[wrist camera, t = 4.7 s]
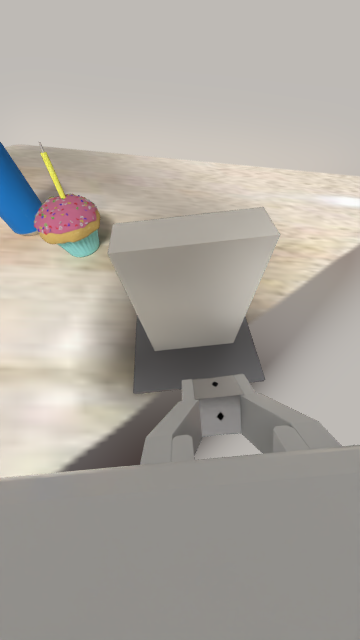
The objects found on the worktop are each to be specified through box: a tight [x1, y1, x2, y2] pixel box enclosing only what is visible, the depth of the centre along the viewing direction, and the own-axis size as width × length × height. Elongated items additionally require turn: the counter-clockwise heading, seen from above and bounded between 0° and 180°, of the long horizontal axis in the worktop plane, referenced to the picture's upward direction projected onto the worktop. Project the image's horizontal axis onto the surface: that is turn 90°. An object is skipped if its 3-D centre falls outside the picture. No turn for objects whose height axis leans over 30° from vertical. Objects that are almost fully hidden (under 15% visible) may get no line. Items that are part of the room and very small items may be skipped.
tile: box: [108, 207, 280, 351], centre depth 14 cm, size 2×8×12 cm, turn 95°
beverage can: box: [0, 142, 42, 236], centre depth 28 cm, size 6×6×12 cm
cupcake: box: [34, 142, 100, 257], centre depth 24 cm, size 9×8×12 cm
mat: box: [133, 315, 265, 394], centre depth 22 cm, size 20×12×1 cm, turn 5°
